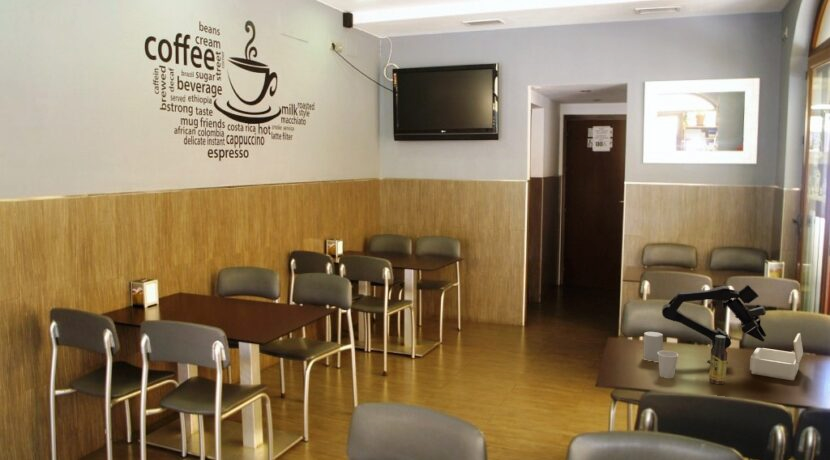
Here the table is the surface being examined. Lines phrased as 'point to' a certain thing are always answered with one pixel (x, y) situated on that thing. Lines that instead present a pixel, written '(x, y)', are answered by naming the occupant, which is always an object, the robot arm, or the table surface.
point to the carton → (774, 363)
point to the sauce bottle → (718, 361)
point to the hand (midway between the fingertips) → (764, 338)
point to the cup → (652, 345)
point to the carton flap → (798, 348)
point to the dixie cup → (667, 363)
